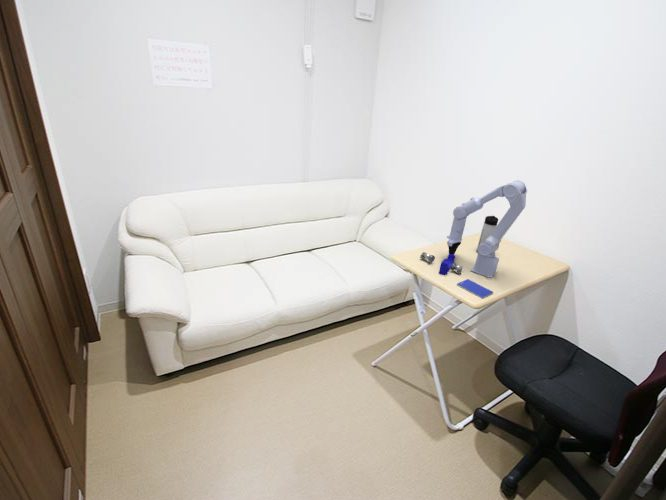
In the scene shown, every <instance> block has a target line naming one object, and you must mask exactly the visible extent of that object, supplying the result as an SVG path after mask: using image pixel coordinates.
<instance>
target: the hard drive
mask: <svg viewBox="0 0 666 500" xmlns="http://www.w3.org/2000/svg"><path fill="white" fill-rule="evenodd" d="M456 286H457V287H459V288H461V289H463V290H464V291H467V292H468V293H471V294H472V295H475V296H476V297H478V298H480V299H485V298H486V297H490V296H491V295H493V294H494V291H493V290H490V289H488V288H486V287H485V286H482V285H481V284H478V283H477V282H476V281H473V280H471V279H469V278H467V279H464V280H462V281H460V282H457V284H456Z"/></svg>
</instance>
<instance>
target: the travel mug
mask: <svg viewBox="0 0 666 500" xmlns="http://www.w3.org/2000/svg"><path fill="white" fill-rule="evenodd" d="M498 224H499V218H498V217H496V216H495V215H488V216H487V215H486V216H485V218H484V222H483V225H482V229H481V234H480V237H479V240H478V244H477V248H476V253H477V254H478V246H479V245H480V244H482V243H484V242H485V240H486V239H487V238H488V237H489V236H490V235H491V233H492V232H493V231H494V229H495V228H496V226H497V225H498Z"/></svg>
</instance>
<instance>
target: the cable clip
mask: <svg viewBox="0 0 666 500" xmlns="http://www.w3.org/2000/svg"><path fill="white" fill-rule="evenodd" d="M455 259H456V255H455V254H454V255H452V254H449V253H448V255H447V258H444V259H443V260H441V262H440V265H439V271H438V274H440V275H443V276H446V275H447V274H448V272H449V271H450V270H451V266H452V264H453V263H455Z"/></svg>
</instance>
